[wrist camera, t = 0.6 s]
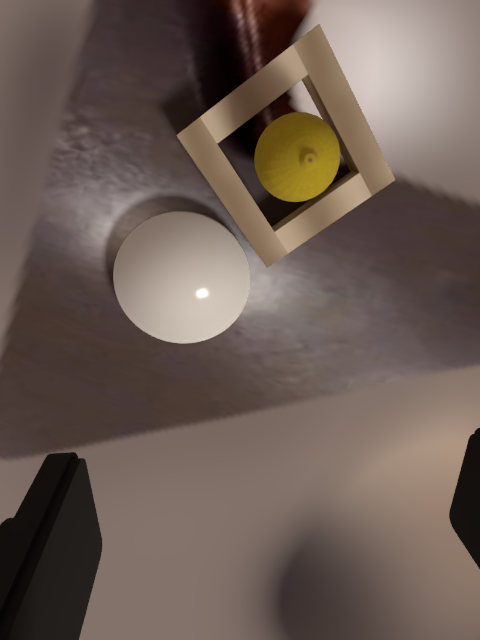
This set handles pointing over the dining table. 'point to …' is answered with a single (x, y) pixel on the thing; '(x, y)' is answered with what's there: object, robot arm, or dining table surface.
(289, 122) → the lemon
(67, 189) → the dining table surface
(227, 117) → the frame
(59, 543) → the robot arm
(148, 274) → the saucer
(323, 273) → the dining table surface
